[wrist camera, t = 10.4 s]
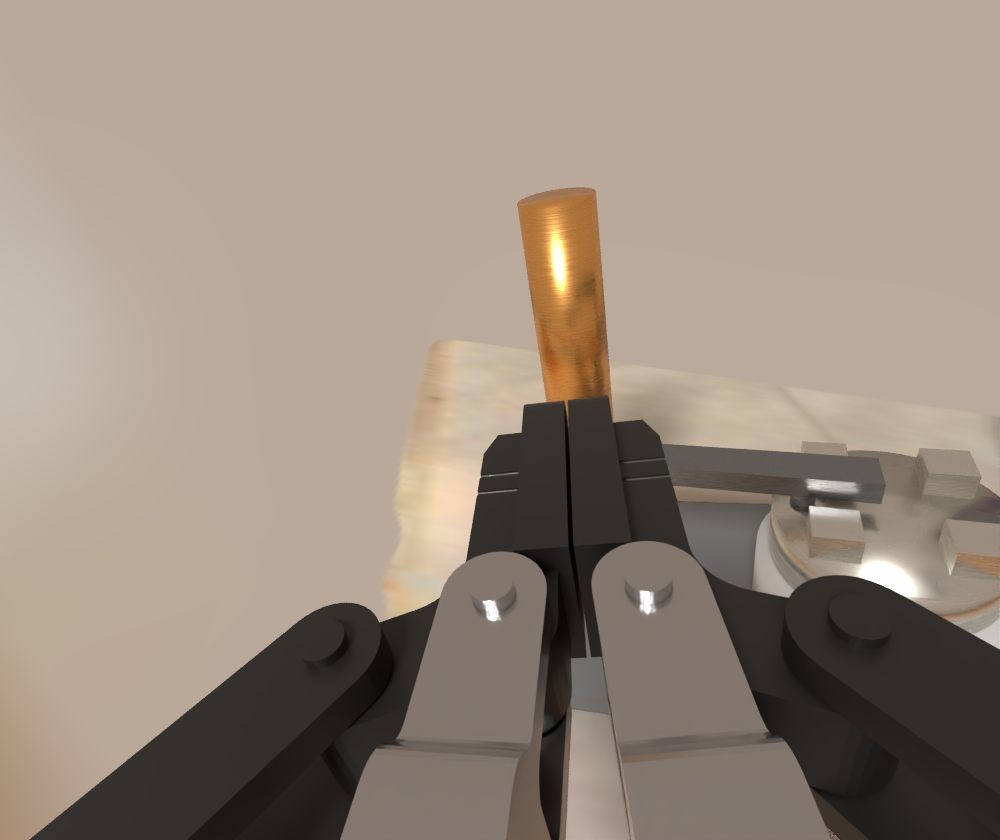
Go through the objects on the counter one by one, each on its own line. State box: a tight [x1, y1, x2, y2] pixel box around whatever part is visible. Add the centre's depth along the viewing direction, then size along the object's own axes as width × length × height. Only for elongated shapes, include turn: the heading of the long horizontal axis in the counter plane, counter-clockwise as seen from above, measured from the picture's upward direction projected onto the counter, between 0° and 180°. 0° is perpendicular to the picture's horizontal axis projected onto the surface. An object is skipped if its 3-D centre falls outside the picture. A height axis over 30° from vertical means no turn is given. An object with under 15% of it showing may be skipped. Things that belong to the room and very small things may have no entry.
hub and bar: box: [517, 188, 1000, 634], centre depth 23 cm, size 19×9×16 cm, turn 69°
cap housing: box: [570, 501, 1000, 714], centre depth 29 cm, size 20×14×5 cm
